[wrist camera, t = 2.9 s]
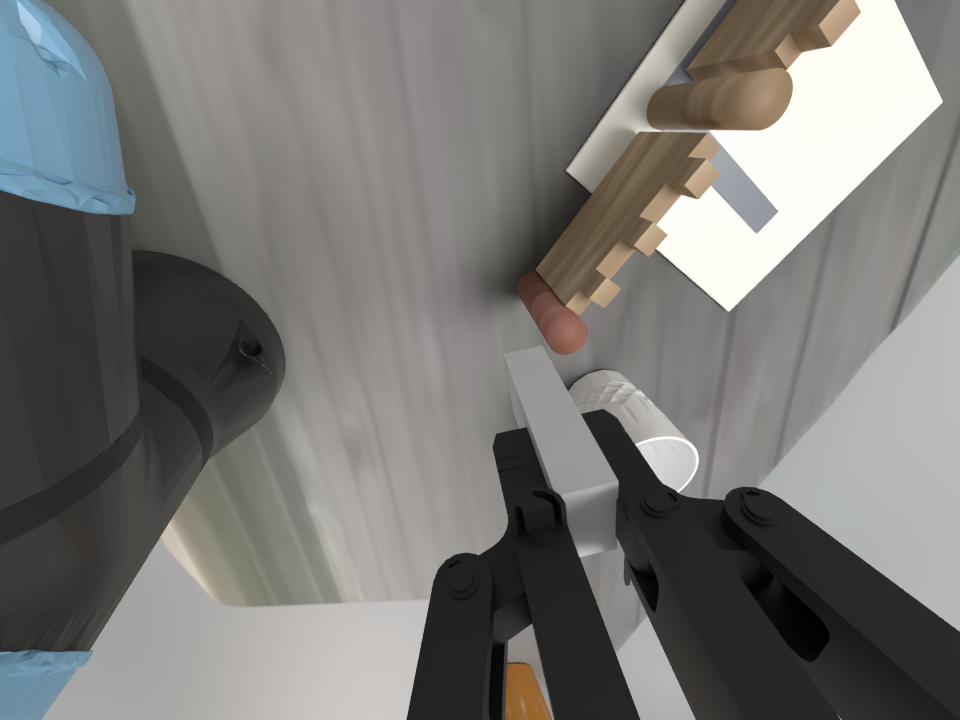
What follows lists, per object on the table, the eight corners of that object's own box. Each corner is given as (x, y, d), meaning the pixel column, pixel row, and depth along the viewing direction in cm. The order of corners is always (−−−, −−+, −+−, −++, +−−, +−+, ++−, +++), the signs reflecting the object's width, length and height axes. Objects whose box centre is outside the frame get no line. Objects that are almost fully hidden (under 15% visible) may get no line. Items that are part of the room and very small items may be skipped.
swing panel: (510, 290, 30) (540, 343, 22) (633, 125, 25) (720, 124, 18) (533, 306, 31) (569, 360, 23) (656, 149, 26) (748, 157, 19)
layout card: (565, 170, 26) (567, 170, 26) (805, -171, 20) (812, -176, 19) (726, 310, 34) (729, 312, 34) (937, 102, 27) (944, 101, 27)
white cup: (586, 352, 35) (641, 425, 26) (651, 377, 37) (720, 451, 29) (543, 416, 38) (579, 500, 29) (605, 436, 40) (655, 517, 32)
